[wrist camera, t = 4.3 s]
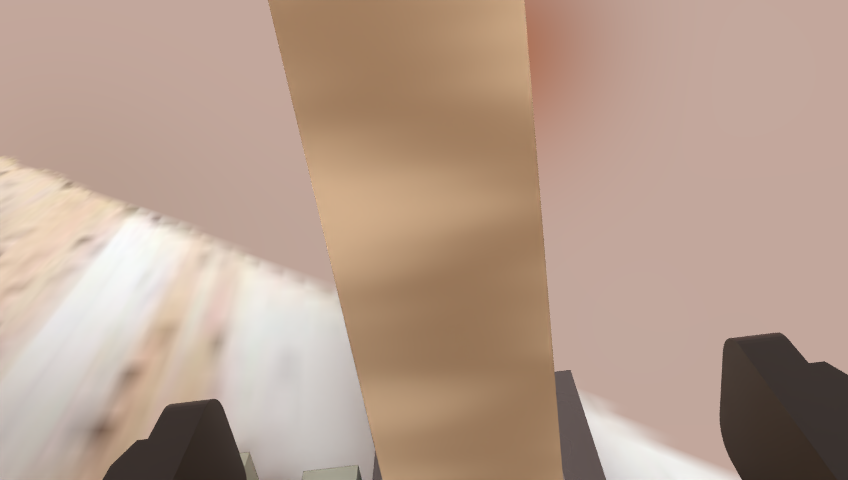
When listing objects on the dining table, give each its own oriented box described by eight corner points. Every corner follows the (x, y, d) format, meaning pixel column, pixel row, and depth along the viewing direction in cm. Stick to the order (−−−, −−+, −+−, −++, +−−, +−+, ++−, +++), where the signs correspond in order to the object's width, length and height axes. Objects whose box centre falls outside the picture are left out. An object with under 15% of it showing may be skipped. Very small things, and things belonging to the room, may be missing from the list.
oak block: (475, 870, 14) (200, -286, 6) (461, 608, 20) (310, -185, 11) (593, 862, 14) (497, -342, 5) (546, 599, 19) (460, -212, 11)
